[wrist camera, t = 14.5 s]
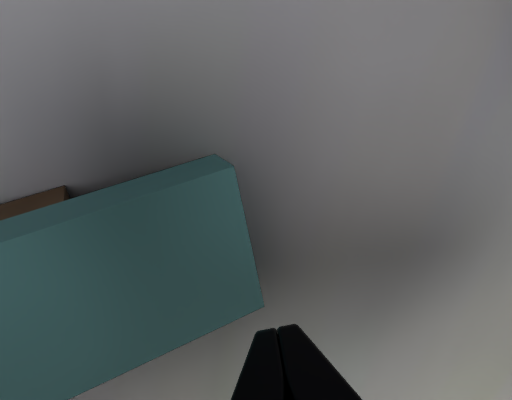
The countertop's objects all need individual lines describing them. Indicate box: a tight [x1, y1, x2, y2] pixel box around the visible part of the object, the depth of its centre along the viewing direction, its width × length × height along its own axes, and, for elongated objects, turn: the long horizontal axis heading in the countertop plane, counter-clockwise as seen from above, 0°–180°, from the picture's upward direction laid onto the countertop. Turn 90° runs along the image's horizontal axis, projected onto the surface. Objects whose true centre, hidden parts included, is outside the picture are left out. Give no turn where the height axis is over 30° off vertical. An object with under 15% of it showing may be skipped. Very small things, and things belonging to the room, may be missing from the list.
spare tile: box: [0, 154, 264, 400], centre depth 11 cm, size 2×5×8 cm
